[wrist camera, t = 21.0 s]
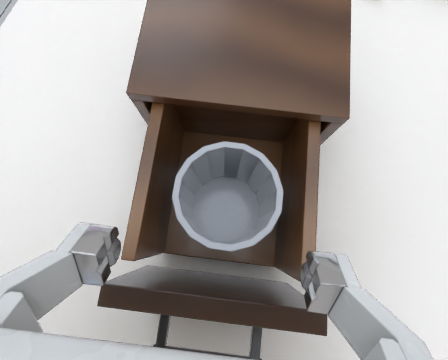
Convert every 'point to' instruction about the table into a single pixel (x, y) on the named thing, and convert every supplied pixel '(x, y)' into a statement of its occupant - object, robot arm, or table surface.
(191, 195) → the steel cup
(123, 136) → the table surface
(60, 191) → the table surface
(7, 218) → the table surface
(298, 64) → the cabinet
